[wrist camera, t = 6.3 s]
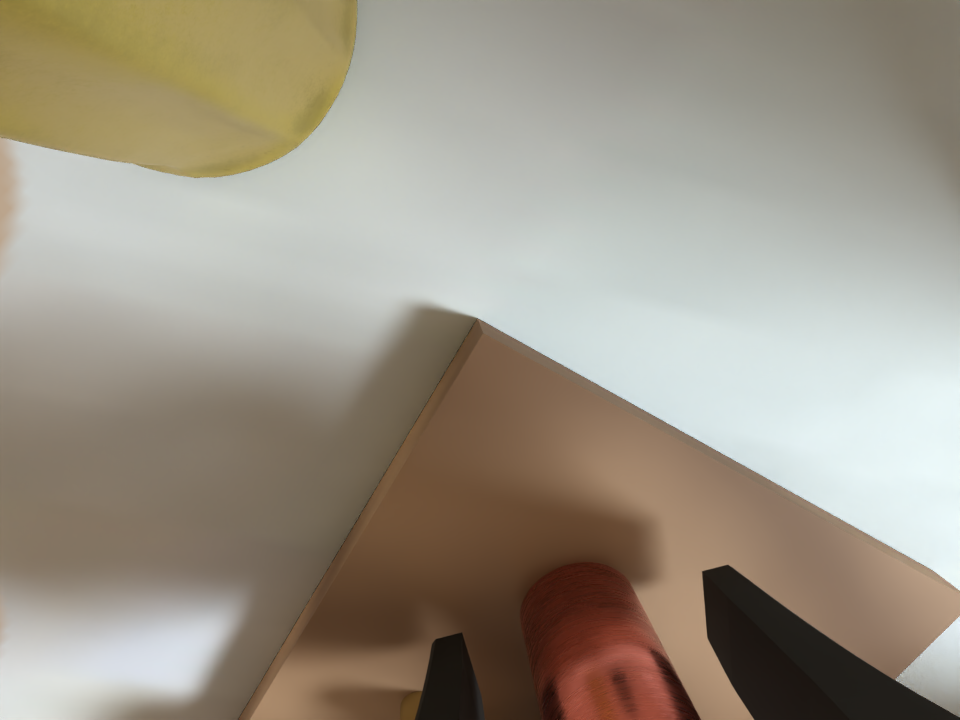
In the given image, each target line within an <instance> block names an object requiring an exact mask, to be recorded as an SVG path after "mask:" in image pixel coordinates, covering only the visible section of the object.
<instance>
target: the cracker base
mask: <svg viewBox="0 0 960 720" xmlns="http://www.w3.org/2000/svg"><path fill="white" fill-rule="evenodd" d="M581 562H594V563H600V564H604V565H608V566H610V567H612V568H614V569H616V570H618V571H619V572H621V573H622V574H623V575H624V576H625V577H626V578H627V579H628V580H629V582H630V584H631V585H632V587H633V589H634V591H635V593H636V595H637V597H638V599H639V601H640V603H641V605H642V607H643V608H644V610H645V612H646V614H647V616H648V618H649V620H650V622H651V624H652V626H653V628H654V630H655V632H656V634H657V635H658V637H659V639H660V641H661V643H662V645H663V647H664V649H665V651H666V653H667V655H668V657H669V659H670V661H671V662H672V664H673V666H674V668H675V670H676V672H677V674H678V676H679V678H680V680H681V682H682V684H683V686H684V688H685V689H686V691H687V693H688V695H689V697H690V699H691V701H692V703H693V705H694V707H695V709H696V711H697V713H698V715H699V716H700V718H701V720H754V719H753V717H752V716H751V714H750V713H749V711H748V710H747V708H746V706H745V705H744V703H743V702H742V700H741V699H740V697H739V696H738V694H737V693H736V691H735V689H734V688H733V686H732V684H731V683H730V681H729V679H728V677H727V675H726V673H725V671H724V669H723V668H722V666H721V664H720V662H719V660H718V658H717V656H716V654H715V652H714V650H713V648H712V646H711V644H710V642H709V640H708V638H707V629H706V616H705V604H704V591H703V579H702V571H705V570H709V569H713V568H716V567H720V566H724V565H729V566H731V567H733V568H734V569H735V570H737V571H738V572H739V573H741V574H742V575H743V576H745V577H746V578H747V579H749V580H750V581H751V582H753V583H754V584H755V585H757V586H758V587H759V588H761V589H762V590H763V591H765V592H766V593H767V594H769V595H770V596H771V597H773V598H774V599H775V600H777V601H778V602H779V603H781V604H782V605H784V606H785V607H786V608H788V609H789V610H790V611H792V612H793V613H795V614H796V615H797V616H799V617H800V618H802V619H803V620H804V621H806V622H807V623H809V624H810V625H812V626H813V627H815V628H816V629H817V630H819V631H820V632H822V633H823V634H825V635H826V636H828V637H829V638H830V639H832V640H833V641H835V642H836V643H838V644H839V645H841V646H842V647H844V648H845V649H847V650H848V651H850V652H851V653H853V654H854V655H856V656H857V657H859V658H861V659H862V660H864V661H865V662H867V663H868V664H870V665H872V666H873V667H875V668H876V669H878V670H879V671H881V672H883V673H884V674H886V675H887V676H889V677H891V678H892V679H894V680H895V679H896V678H897V677H898V676H899V675H900V674H901V673H902V672H903V671H904V670H905V669H906V668H907V667H908V666H909V665H910V664H911V663H912V662H913V661H914V660H915V659H916V658H917V657H918V656H919V655H920V654H921V653H922V652H923V651H924V650H925V649H926V648H927V647H928V646H929V645H930V644H931V643H932V642H933V641H934V640H935V639H936V638H937V637H938V636H940V635H941V634H942V633H943V632H944V631H945V630H946V629H947V628H948V627H949V626H950V625H951V624H952V623H953V622H954V621H955V620H956V619H957V618H958V617H959V616H960V591H959V590H958V589H957V588H955V587H954V586H953V585H951V584H950V583H949V582H947V581H946V580H945V579H943V578H942V577H941V576H939V575H938V574H937V573H935V572H934V571H933V570H931V569H929V568H927V567H925V566H924V565H922V564H920V563H918V562H916V561H915V560H913V559H911V558H909V557H907V556H905V555H904V554H902V553H900V552H898V551H896V550H895V549H893V548H891V547H889V546H887V545H886V544H884V543H882V542H880V541H878V540H877V539H875V538H873V537H871V536H869V535H868V534H866V533H864V532H862V531H860V530H859V529H857V528H855V527H853V526H851V525H850V524H848V523H846V522H844V521H842V520H841V519H839V518H837V517H835V516H833V515H831V514H830V513H828V512H826V511H824V510H822V509H821V508H819V507H817V506H815V505H813V504H812V503H810V502H808V501H806V500H804V499H803V498H801V497H799V496H797V495H795V494H794V493H792V492H790V491H788V490H786V489H785V488H783V487H781V486H779V485H777V484H776V483H774V482H772V481H770V480H768V479H767V478H765V477H763V476H761V475H759V474H758V473H756V472H754V471H752V470H750V469H748V468H747V467H745V466H743V465H741V464H739V463H738V462H736V461H734V460H732V459H730V458H729V457H727V456H725V455H723V454H721V453H720V452H718V451H716V450H714V449H712V448H711V447H709V446H707V445H705V444H703V443H702V442H700V441H698V440H696V439H694V438H693V437H691V436H689V435H687V434H685V433H684V432H682V431H680V430H678V429H676V428H674V427H673V426H671V425H669V424H667V423H665V422H664V421H662V420H660V419H658V418H656V417H655V416H653V415H651V414H649V413H647V412H646V411H644V410H642V409H640V408H638V407H637V406H635V405H633V404H631V403H629V402H628V401H626V400H624V399H622V398H620V397H619V396H617V395H615V394H613V393H611V392H610V391H608V390H606V389H604V388H602V387H600V386H599V385H597V384H595V383H593V382H591V381H590V380H588V379H586V378H584V377H582V376H581V375H579V374H577V373H575V372H573V371H572V370H570V369H568V368H566V367H564V366H563V365H561V364H559V363H557V362H555V361H554V360H552V359H550V358H548V357H546V356H545V355H543V354H541V353H539V352H537V351H536V350H534V349H532V348H530V347H528V346H526V345H525V344H523V343H521V342H519V341H517V340H516V339H514V338H512V337H510V336H508V335H507V334H505V333H503V332H501V331H499V330H498V329H496V328H494V327H492V326H490V325H489V324H487V323H485V322H483V321H481V320H480V319H478V318H477V320H476V322H475V323H474V325H473V327H472V328H471V330H470V332H469V333H468V335H467V337H466V338H465V340H464V342H463V343H462V345H461V347H460V348H459V350H458V352H457V353H456V355H455V357H454V359H453V360H452V362H451V364H450V365H449V367H448V369H447V370H446V372H445V374H444V375H443V377H442V379H441V380H440V382H439V384H438V385H437V387H436V389H435V390H434V392H433V394H432V395H431V397H430V399H429V400H428V402H427V404H426V405H425V407H424V409H423V411H422V412H421V414H420V416H419V417H418V419H417V421H416V422H415V424H414V426H413V427H412V429H411V431H410V432H409V434H408V436H407V437H406V439H405V441H404V442H403V444H402V446H401V447H400V449H399V451H398V452H397V454H396V456H395V457H394V459H393V461H392V463H391V464H390V466H389V468H388V469H387V471H386V473H385V474H384V476H383V478H382V479H381V481H380V483H379V484H378V486H377V488H376V489H375V491H374V493H373V494H372V496H371V498H370V499H369V501H368V503H367V504H366V506H365V508H364V509H363V511H362V513H361V515H360V516H359V518H358V520H357V521H356V523H355V525H354V526H353V528H352V530H351V531H350V533H349V535H348V536H347V538H346V540H345V541H344V543H343V545H342V546H341V548H340V550H339V551H338V553H337V555H336V556H335V558H334V560H333V561H332V563H331V565H330V566H329V568H328V570H327V572H326V573H325V575H324V577H323V578H322V580H321V582H320V583H319V585H318V587H317V588H316V590H315V592H314V593H313V595H312V597H311V598H310V600H309V602H308V603H307V605H306V607H305V608H304V610H303V612H302V613H301V615H300V617H299V618H298V620H297V622H296V624H295V625H294V627H293V629H292V630H291V632H290V634H289V635H288V637H287V639H286V640H285V642H284V644H283V645H282V647H281V649H280V650H279V652H278V654H277V655H276V657H275V659H274V660H273V662H272V664H271V665H270V667H269V669H268V670H267V672H266V674H265V676H264V677H263V679H262V681H261V682H260V684H259V686H258V687H257V689H256V691H255V692H254V694H253V696H252V697H251V699H250V701H249V702H248V704H247V706H246V707H245V709H244V711H243V712H242V714H241V716H240V717H239V719H238V720H415V717H416V713H417V710H418V706H419V702H420V698H421V694H422V690H423V686H424V682H425V678H426V673H427V668H428V663H429V658H430V652H431V646H432V643H433V642H434V640H435V639H438V638H442V637H446V636H449V635H453V634H457V633H461V632H462V634H463V637H464V640H465V643H466V647H467V650H468V653H469V656H470V660H471V663H472V666H473V670H474V673H475V676H476V679H477V683H478V686H479V689H480V692H481V696H482V702H483V709H484V716H485V720H541V715H540V710H539V706H538V701H537V697H536V692H535V687H534V683H533V678H532V674H531V669H530V665H529V660H528V655H527V651H526V646H525V642H524V637H523V632H522V628H521V623H520V610H521V605H522V603H523V600H524V598H525V596H526V594H527V593H528V591H529V590H530V588H531V587H532V586H533V585H534V584H535V583H536V582H537V581H538V580H539V579H540V578H542V577H543V576H545V575H546V574H548V573H549V572H551V571H553V570H555V569H557V568H560V567H562V566H566V565H569V564H574V563H581Z"/></svg>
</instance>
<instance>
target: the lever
mask: <svg viewBox="0 0 960 720" xmlns="http://www.w3.org/2000/svg"><path fill="white" fill-rule="evenodd" d="M520 623H521V628H522V632H523V637H524V642H525V646H526V651H527V655H528V660H529V665H530V669H531V674H532V678H533V683H534V687H535V692H536V697H537V701H538V706H539V710H540V715H541V720H701V718H700V716H699V715H698V713H697V711H696V709H695V707H694V705H693V703H692V701H691V699H690V697H689V695H688V693H687V691H686V689H685V688H684V686H683V684H682V682H681V680H680V678H679V676H678V674H677V672H676V670H675V668H674V666H673V664H672V662H671V661H670V659H669V657H668V655H667V653H666V651H665V649H664V647H663V645H662V643H661V641H660V639H659V637H658V635H657V634H656V632H655V630H654V628H653V626H652V624H651V622H650V620H649V618H648V616H647V614H646V612H645V610H644V608H643V607H642V605H641V603H640V601H639V599H638V597H637V595H636V593H635V591H634V589H633V587H632V585H631V584H630V582H629V580H628V579H627V578H626V577H625V576H624V575H623V574H622V573H621V572H619V571H618V570H616V569H614V568H612V567H610V566H608V565H604V564H600V563H594V562H581V563H574V564H569V565H566V566H562V567H560V568H557V569H555V570H553V571H551V572H549V573H548V574H546V575H545V576H543V577H542V578H540V579H539V580H538V581H537V582H536V583H535V584H534V585H533V586H532V587H531V588H530V590H529V591H528V593H527V594H526V596H525V598H524V600H523V603H522V605H521V610H520Z"/></svg>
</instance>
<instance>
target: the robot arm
mask: <svg viewBox="0 0 960 720" xmlns="http://www.w3.org/2000/svg"><path fill="white" fill-rule="evenodd" d="M702 579H703V591H704V604H705V616H706V629H707V638H708V640H709V642H710V644H711V646H712V648H713V650H714V652H715V654H716V656H717V658H718V660H719V662H720V664H721V666H722V668H723V669H724V671H725V673H726V675H727V677H728V679H729V681H730V683H731V684H732V686H733V688H734V689H735V691H736V693H737V694H738V696H739V697H740V699H741V700H742V702H743V703H744V705H745V706H746V708H747V710H748V711H749V713H750V714H751V716H752V717H753V719H754V720H960V717H958V716H956V715H954V714H952V713H950V712H949V711H947V710H945V709H943V708H942V707H940V706H938V705H936V704H935V703H933V702H931V701H929V700H928V699H926V698H924V697H922V696H921V695H919V694H917V693H915V692H914V691H912V690H910V689H909V688H907V687H905V686H904V685H902V684H900V683H899V682H897V681H895V680H894V679H892V678H891V677H889V676H887V675H886V674H884V673H883V672H881V671H879V670H878V669H876V668H875V667H873V666H872V665H870V664H868V663H867V662H865V661H864V660H862V659H861V658H859V657H857V656H856V655H854V654H853V653H851V652H850V651H848V650H847V649H845V648H844V647H842V646H841V645H839V644H838V643H836V642H835V641H833V640H832V639H830V638H829V637H828V636H826V635H825V634H823V633H822V632H820V631H819V630H817V629H816V628H815V627H813V626H812V625H810V624H809V623H807V622H806V621H804V620H803V619H802V618H800V617H799V616H797V615H796V614H795V613H793V612H792V611H790V610H789V609H788V608H786V607H785V606H784V605H782V604H781V603H779V602H778V601H777V600H775V599H774V598H773V597H771V596H770V595H769V594H767V593H766V592H765V591H763V590H762V589H761V588H759V587H758V586H757V585H755V584H754V583H753V582H751V581H750V580H749V579H747V578H746V577H745V576H743V575H742V574H741V573H739V572H738V571H737V570H735V569H734V568H733V567H731V566H729V565H724V566H720V567H716V568H713V569H709V570H705V571H702ZM415 720H485V716H484V709H483V702H482V696H481V692H480V689H479V686H478V683H477V679H476V676H475V673H474V670H473V666H472V663H471V660H470V656H469V653H468V650H467V647H466V643H465V640H464V637H463V634H462V632H461V633H457V634H453V635H449V636H446V637H442V638H438V639H435V640H434V642H433V643H432V646H431V652H430V658H429V663H428V668H427V673H426V678H425V682H424V686H423V690H422V694H421V698H420V702H419V706H418V710H417V713H416V717H415Z"/></svg>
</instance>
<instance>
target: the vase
mask: <svg viewBox="0 0 960 720" xmlns="http://www.w3.org/2000/svg"><path fill="white" fill-rule="evenodd" d="M356 25H357V0H0V138H6V139H11V140H15V141H20V142H24V143H28V144H32V145H37V146H41V147H46V148H50V149H55V150H60V151H65V152H70V153H75V154H80V155H85V156H90V157H95V158H100V159H105V160H110V161H116V162H124V163H133V164H136V165H139V166H142V167H145V168H149V169H152V170H156V171H160V172H164V173H171V174H175V175H179V176H186V177H193V178H200V177H222V176H228V175H234V174H238V173H242V172H246V171H250V170H252V169H255V168H258V167H261V166H263V165H266V164H268V163H270V162H272V161H275V160H277V159H279V158H281V157H283V156H284V155H286V154H287V153H289V152H290V151H292V150H293V149H295V148H296V147H298V146H299V145H300V144H301V143H302V142H303V141H304V140H305V139H306V138H307V137H308V136H309V135H310V134H311V133H312V132H313V131H314V130H315V129H316V127H317V126H318V125H319V124H320V123H321V121H322V120H323V118H324V117H325V115H326V114H327V112H328V111H329V109H330V108H331V106H332V104H333V102H334V101H335V99H336V97H337V96H338V94H339V91H340V89H341V87H342V85H343V82H344V80H345V77H346V74H347V72H348V69H349V66H350V62H351V58H352V54H353V49H354V43H355V37H356Z"/></svg>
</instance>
